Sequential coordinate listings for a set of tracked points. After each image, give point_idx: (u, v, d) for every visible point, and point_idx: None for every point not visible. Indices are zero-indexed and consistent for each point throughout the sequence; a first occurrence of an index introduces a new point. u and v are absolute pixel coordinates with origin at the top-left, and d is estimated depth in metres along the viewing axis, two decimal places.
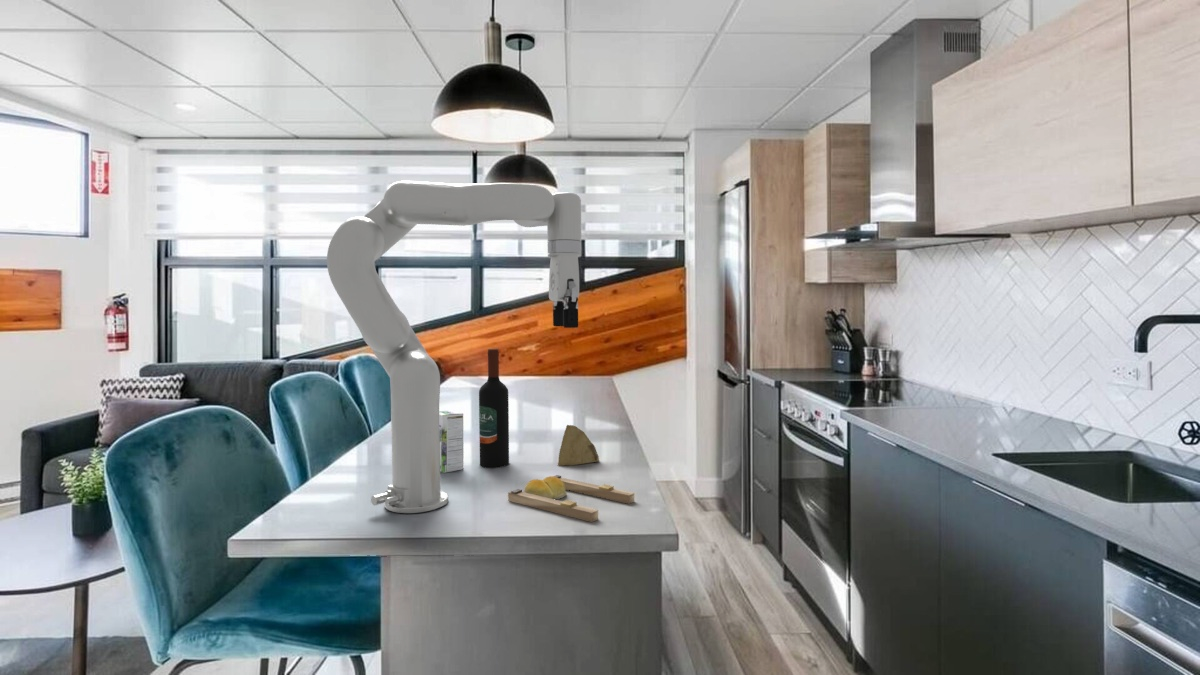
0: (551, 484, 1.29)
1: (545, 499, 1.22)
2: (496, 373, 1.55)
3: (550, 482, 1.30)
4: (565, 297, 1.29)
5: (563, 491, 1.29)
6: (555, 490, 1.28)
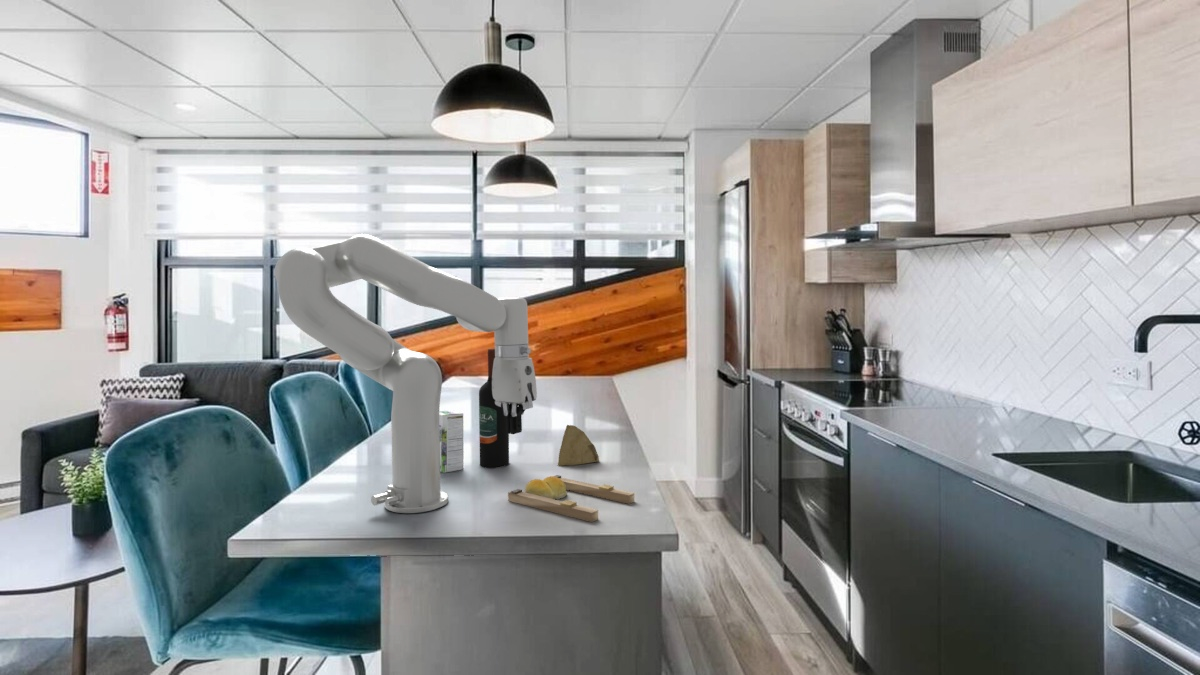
0: (551, 484, 1.29)
1: (545, 499, 1.22)
2: None
3: (550, 482, 1.30)
4: None
5: (564, 491, 1.29)
6: (556, 490, 1.28)
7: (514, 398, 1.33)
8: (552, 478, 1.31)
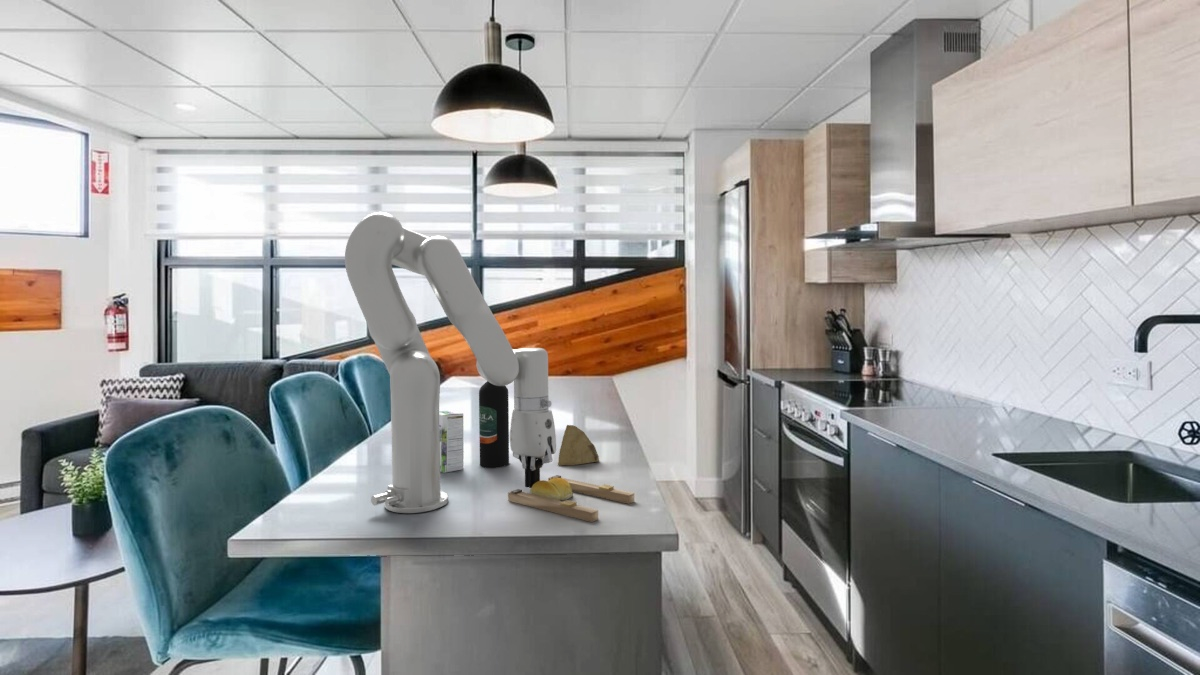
0: (557, 485, 1.28)
1: (545, 499, 1.22)
2: None
3: (556, 483, 1.29)
4: None
5: (570, 492, 1.28)
6: (562, 491, 1.27)
7: (533, 452, 1.30)
8: (557, 479, 1.30)
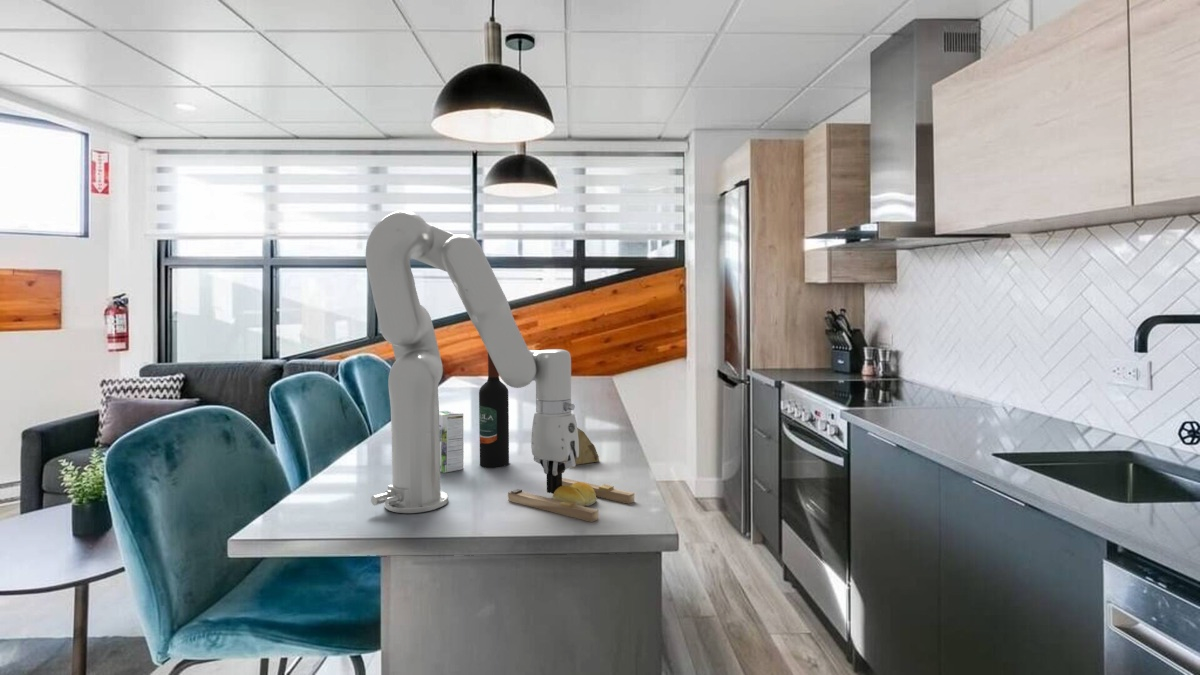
0: (582, 490, 1.25)
1: (545, 499, 1.22)
2: (496, 373, 1.55)
3: (580, 488, 1.25)
4: None
5: (594, 497, 1.25)
6: (587, 496, 1.24)
7: (556, 457, 1.26)
8: (581, 484, 1.26)
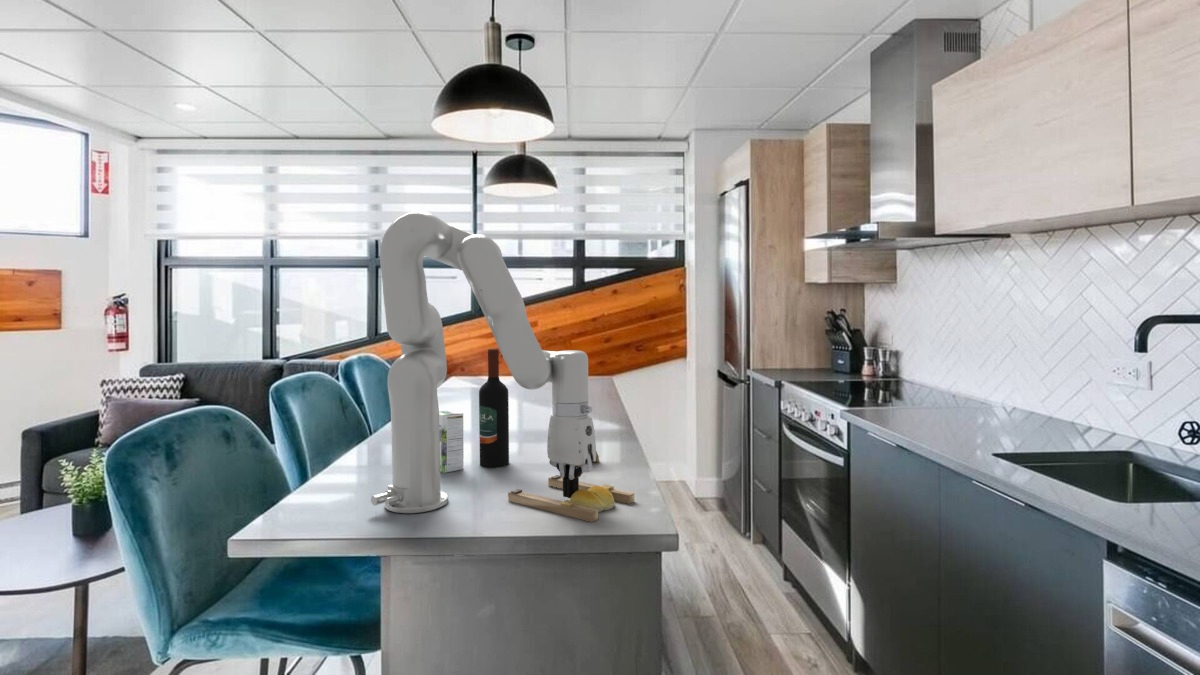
0: (600, 494, 1.22)
1: (545, 499, 1.22)
2: (496, 373, 1.55)
3: (598, 492, 1.23)
4: None
5: (613, 501, 1.22)
6: (606, 501, 1.21)
7: (573, 460, 1.23)
8: (598, 488, 1.24)
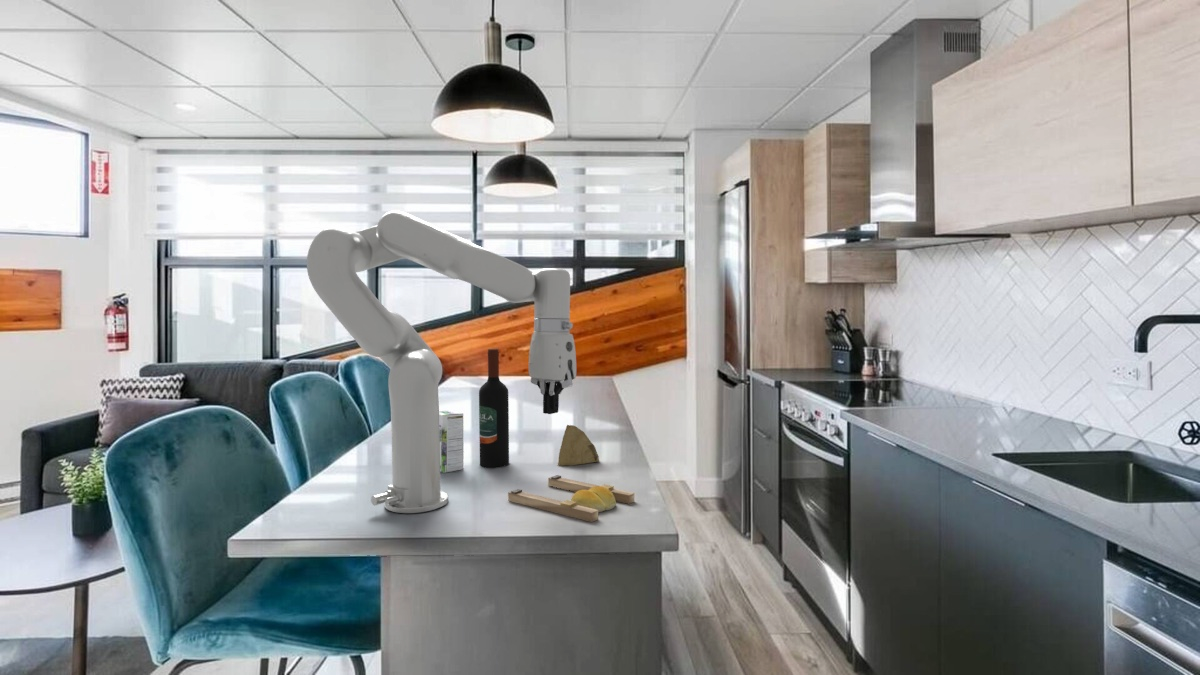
0: (601, 494, 1.22)
1: (545, 499, 1.22)
2: (496, 373, 1.55)
3: (599, 492, 1.22)
4: None
5: (614, 501, 1.22)
6: (607, 501, 1.21)
7: (553, 375, 1.25)
8: (599, 488, 1.24)
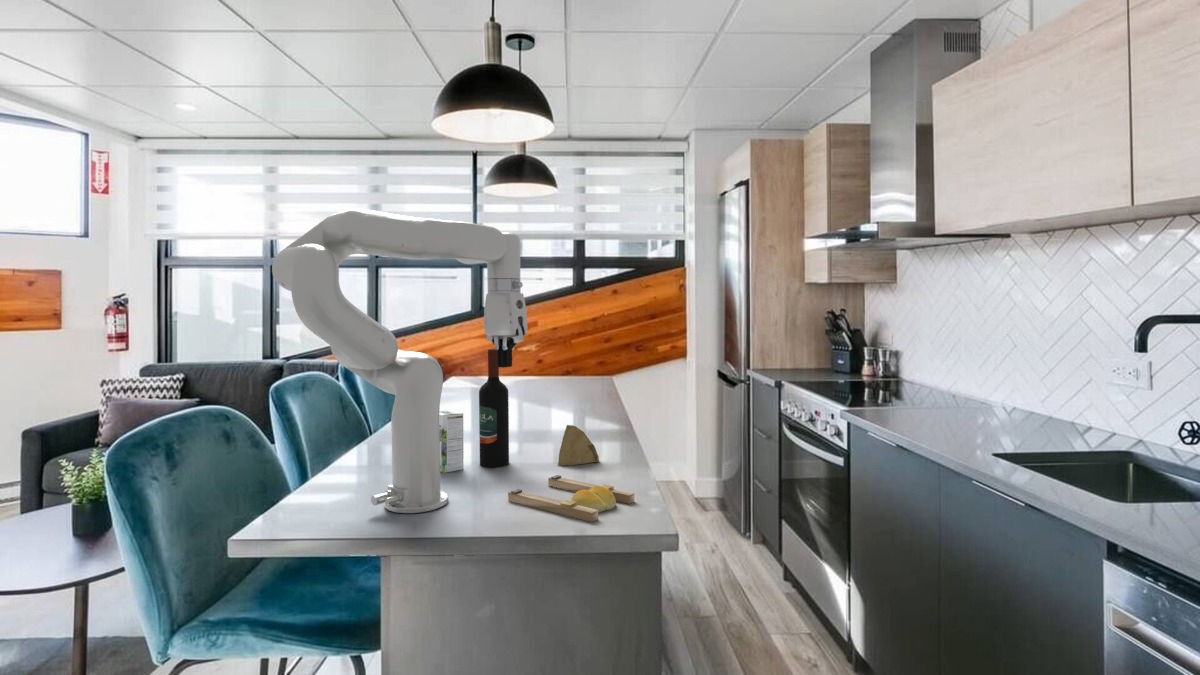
0: (601, 494, 1.22)
1: (545, 499, 1.22)
2: (496, 373, 1.55)
3: (599, 492, 1.23)
4: None
5: (614, 501, 1.22)
6: (607, 501, 1.21)
7: (505, 331, 1.36)
8: (600, 488, 1.24)
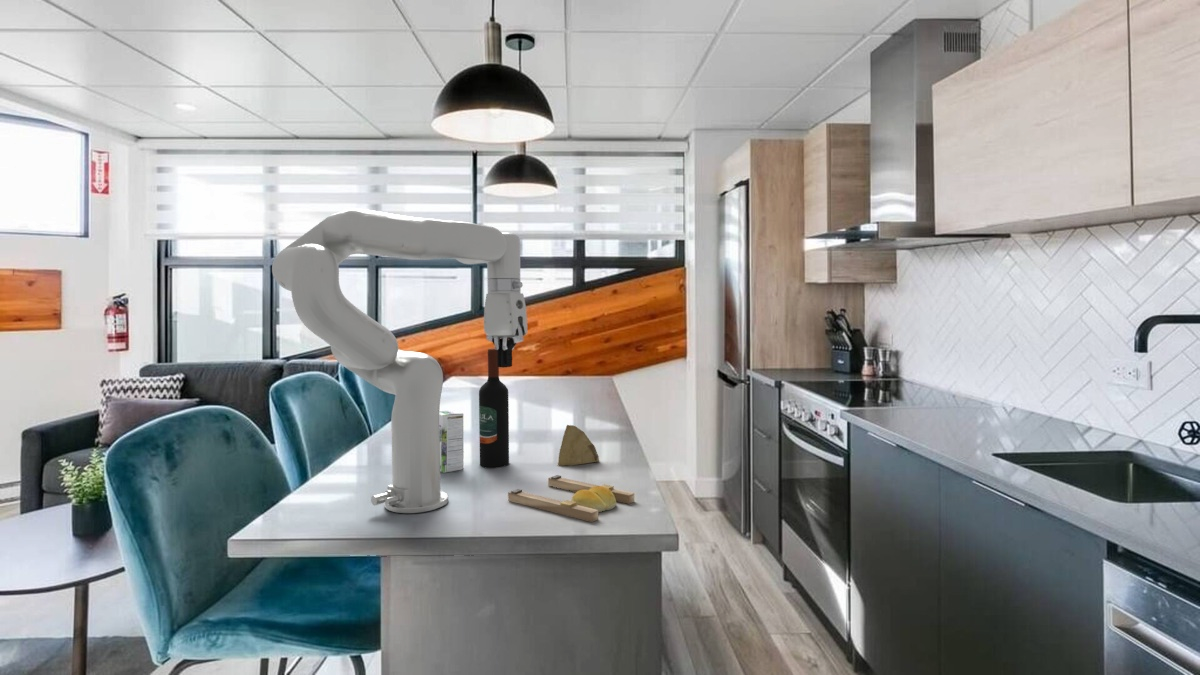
0: (601, 494, 1.22)
1: (545, 499, 1.22)
2: (496, 373, 1.55)
3: (599, 492, 1.23)
4: None
5: (614, 501, 1.22)
6: (607, 501, 1.21)
7: (505, 331, 1.36)
8: (600, 488, 1.24)
